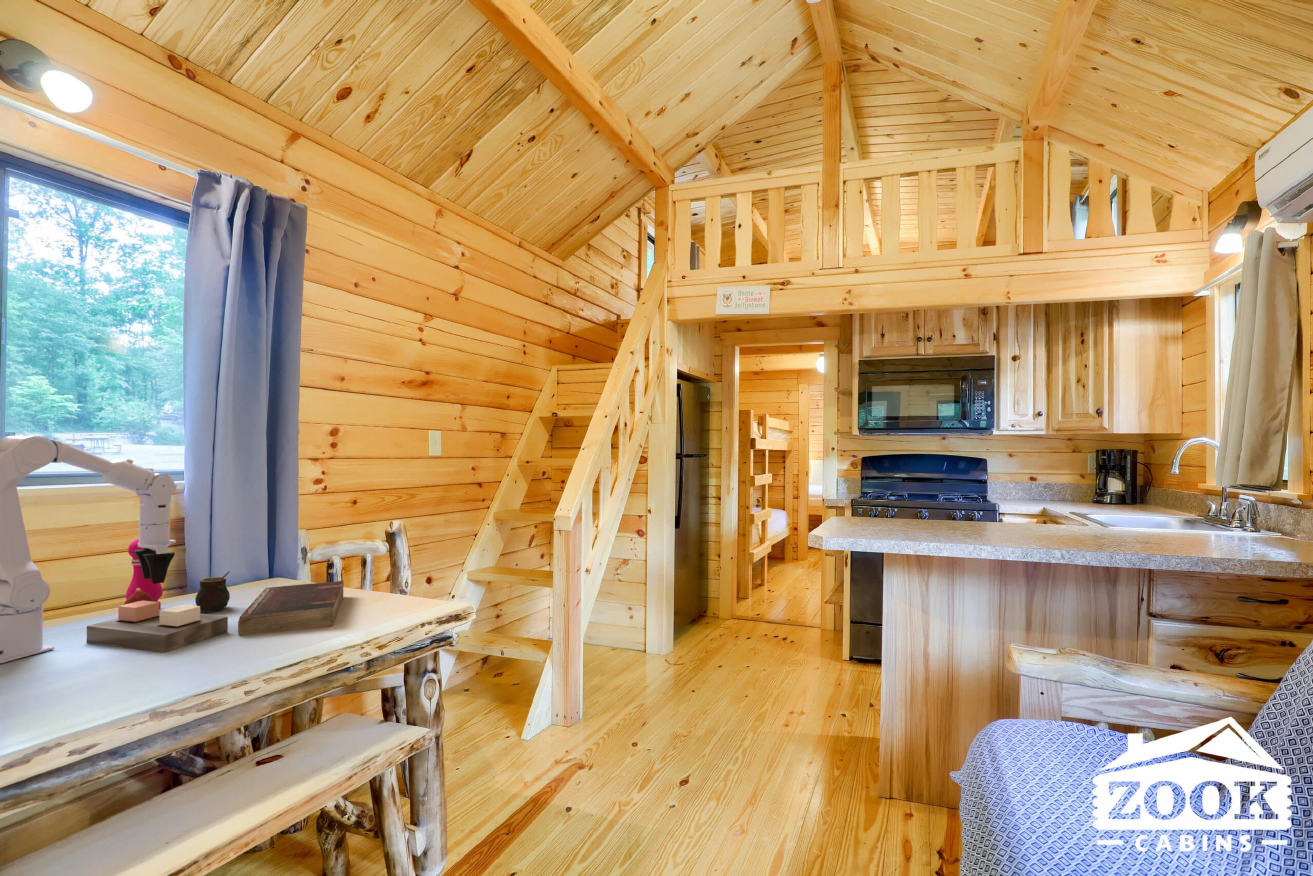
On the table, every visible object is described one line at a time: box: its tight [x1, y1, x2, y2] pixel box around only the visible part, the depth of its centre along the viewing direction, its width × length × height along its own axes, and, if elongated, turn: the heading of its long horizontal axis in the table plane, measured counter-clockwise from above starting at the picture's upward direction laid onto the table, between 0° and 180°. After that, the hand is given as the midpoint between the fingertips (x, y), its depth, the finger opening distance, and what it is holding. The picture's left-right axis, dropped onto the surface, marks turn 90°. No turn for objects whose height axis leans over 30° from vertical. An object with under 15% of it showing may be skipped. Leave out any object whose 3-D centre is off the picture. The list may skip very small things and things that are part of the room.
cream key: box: [160, 604, 201, 626], centre depth 136 cm, size 5×5×3 cm
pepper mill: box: [125, 538, 164, 610], centre depth 157 cm, size 7×7×20 cm
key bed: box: [86, 609, 229, 653], centre depth 138 cm, size 14×22×4 cm, turn 75°
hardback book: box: [237, 580, 344, 636], centre depth 156 cm, size 29×19×5 cm, turn 22°
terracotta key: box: [117, 600, 160, 622], centre depth 139 cm, size 5×5×3 cm
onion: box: [123, 588, 154, 605], centre depth 149 cm, size 6×6×8 cm
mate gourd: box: [195, 570, 231, 613], centre depth 159 cm, size 7×8×10 cm
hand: (154, 580), depth 149 cm, fingers open, 7 cm apart
